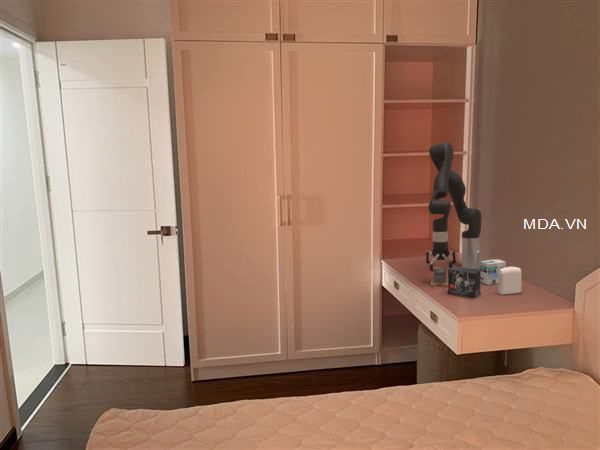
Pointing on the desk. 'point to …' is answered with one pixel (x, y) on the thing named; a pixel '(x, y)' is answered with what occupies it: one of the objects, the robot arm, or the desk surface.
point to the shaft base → (439, 283)
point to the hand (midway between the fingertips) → (441, 271)
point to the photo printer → (509, 280)
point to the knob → (439, 275)
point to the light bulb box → (491, 270)
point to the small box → (464, 281)
